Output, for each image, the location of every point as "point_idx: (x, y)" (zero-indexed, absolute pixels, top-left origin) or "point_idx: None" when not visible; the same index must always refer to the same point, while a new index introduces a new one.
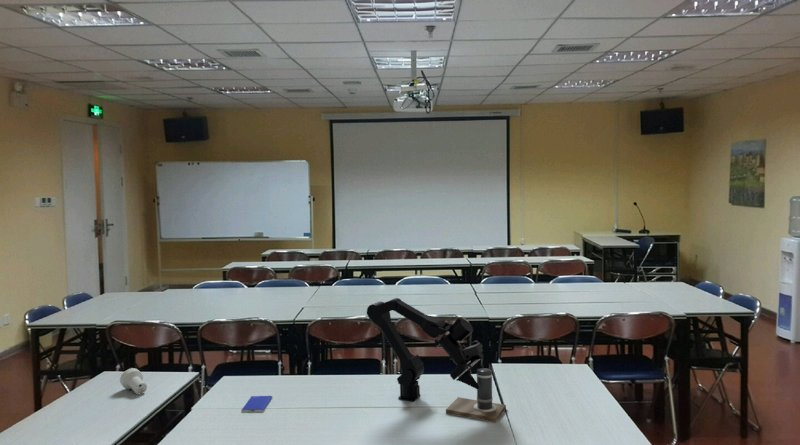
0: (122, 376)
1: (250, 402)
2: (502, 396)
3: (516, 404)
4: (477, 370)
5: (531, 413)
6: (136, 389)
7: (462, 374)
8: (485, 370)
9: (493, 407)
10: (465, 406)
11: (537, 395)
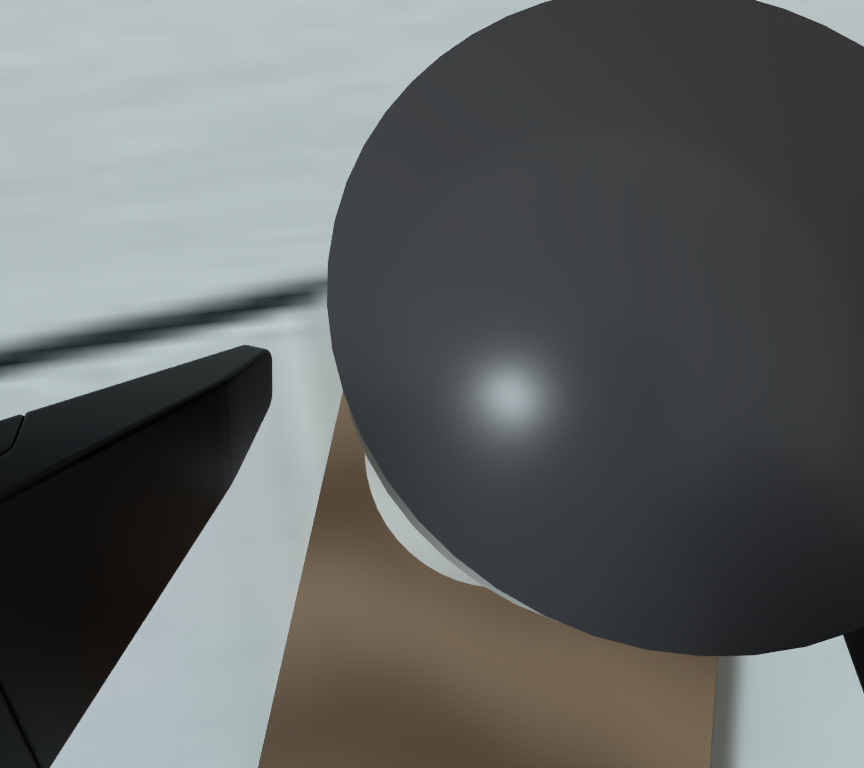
0: None
1: None
2: (51, 327)
3: (246, 182)
4: (756, 615)
5: (428, 52)
6: None
7: None
8: (633, 230)
9: None
10: (529, 694)
11: (2, 30)
